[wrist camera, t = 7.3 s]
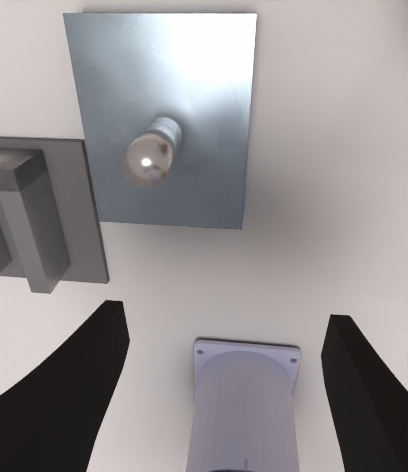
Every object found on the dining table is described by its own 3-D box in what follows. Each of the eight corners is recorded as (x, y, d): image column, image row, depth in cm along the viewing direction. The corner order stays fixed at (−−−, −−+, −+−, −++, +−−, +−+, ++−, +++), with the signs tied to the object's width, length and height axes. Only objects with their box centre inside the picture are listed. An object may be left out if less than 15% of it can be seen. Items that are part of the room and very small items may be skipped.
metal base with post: (242, 212, 21) (240, 275, 16) (111, 204, 22) (70, 263, 17) (255, 13, 16) (258, 16, 11) (81, 12, 17) (8, 15, 12)
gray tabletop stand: (71, 264, 24) (50, 293, 22) (-4, 258, 25) (-33, 287, 22) (42, 149, 20) (13, 169, 18) (-48, 145, 21) (-89, 165, 18)
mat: (109, 280, 25) (107, 283, 25) (-24, 270, 26) (-28, 273, 26) (83, 139, 20) (81, 142, 20) (-83, 133, 21) (-88, 135, 20)
